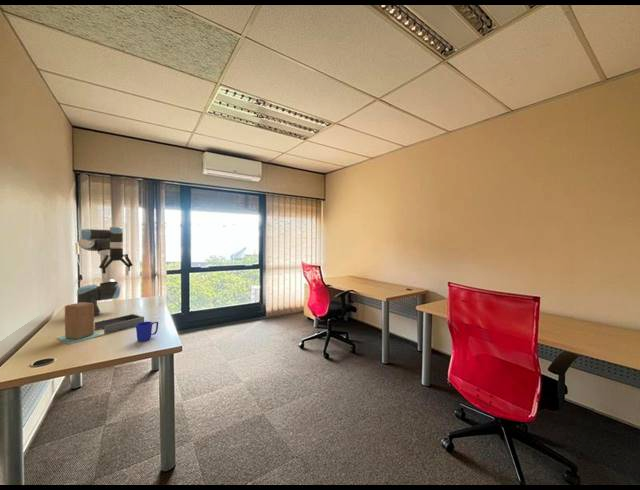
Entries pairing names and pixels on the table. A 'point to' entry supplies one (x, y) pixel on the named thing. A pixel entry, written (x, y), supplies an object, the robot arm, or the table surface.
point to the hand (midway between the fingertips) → (116, 276)
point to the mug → (145, 330)
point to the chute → (118, 323)
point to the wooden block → (79, 320)
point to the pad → (70, 341)
